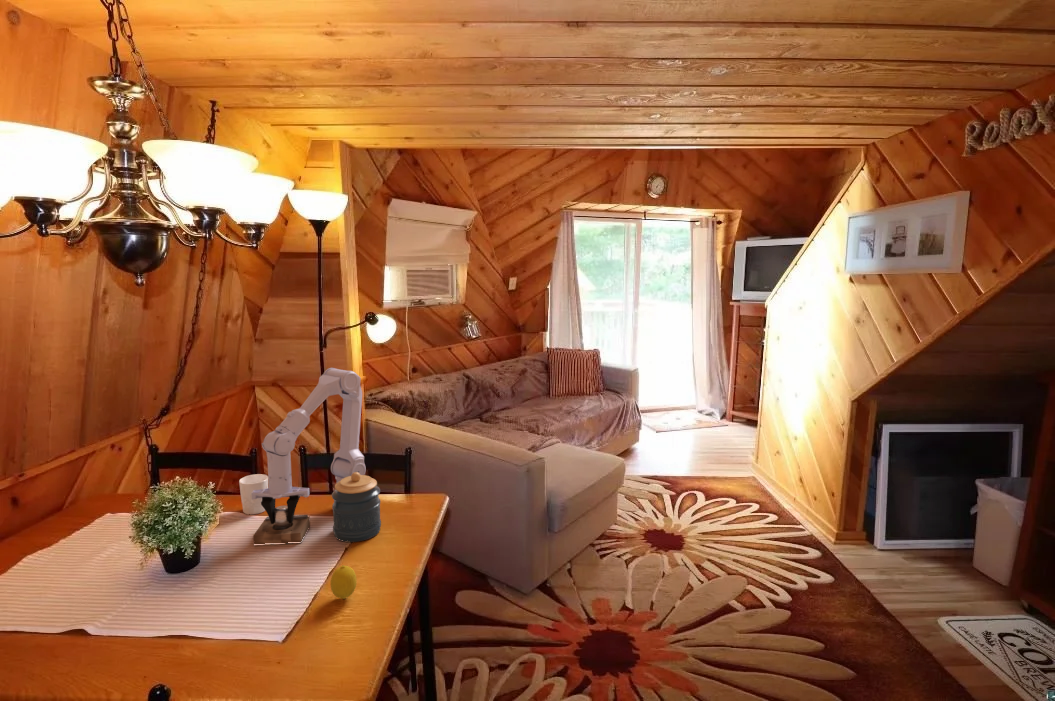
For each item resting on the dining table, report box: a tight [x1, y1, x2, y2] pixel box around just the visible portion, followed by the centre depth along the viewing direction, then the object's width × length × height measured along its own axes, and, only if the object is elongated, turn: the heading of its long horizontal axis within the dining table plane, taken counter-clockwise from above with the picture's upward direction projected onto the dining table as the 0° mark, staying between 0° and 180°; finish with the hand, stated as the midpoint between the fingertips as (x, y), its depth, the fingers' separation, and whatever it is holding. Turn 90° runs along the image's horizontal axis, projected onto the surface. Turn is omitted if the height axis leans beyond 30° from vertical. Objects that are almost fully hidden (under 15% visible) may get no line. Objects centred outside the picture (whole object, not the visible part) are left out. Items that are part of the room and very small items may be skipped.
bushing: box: [274, 505, 291, 530], centre depth 149 cm, size 4×4×6 cm
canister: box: [331, 472, 382, 543], centre depth 151 cm, size 13×13×18 cm
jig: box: [252, 514, 311, 545], centre depth 149 cm, size 12×10×4 cm
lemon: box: [330, 564, 357, 600], centre depth 121 cm, size 6×6×8 cm
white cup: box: [238, 473, 269, 515], centre depth 164 cm, size 8×8×10 cm
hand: (282, 521), depth 149 cm, fingers closed on bushing, 4 cm apart
